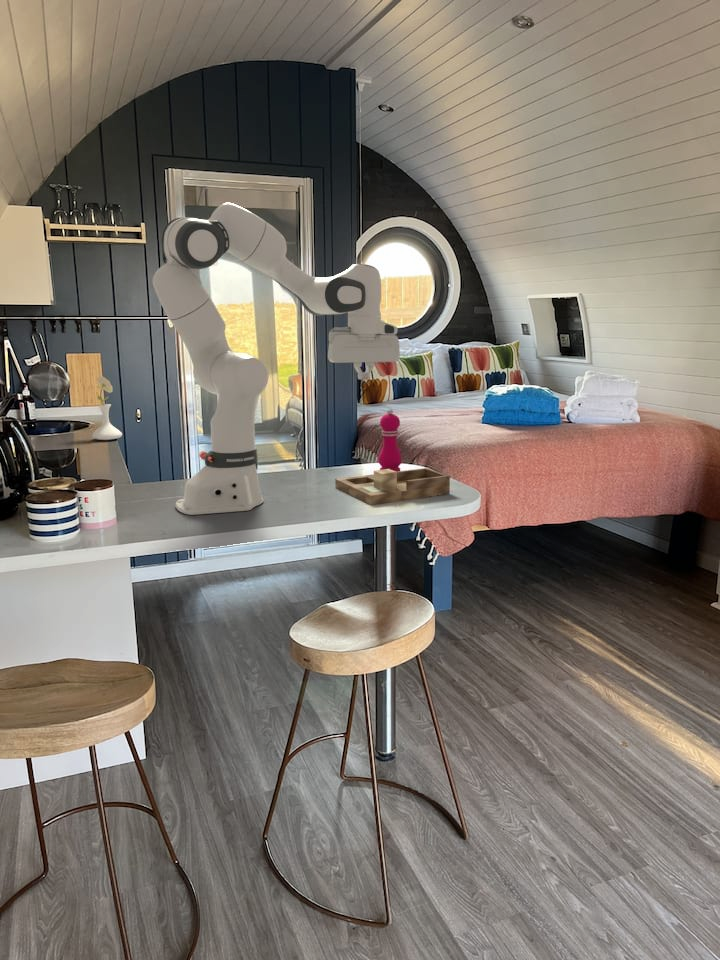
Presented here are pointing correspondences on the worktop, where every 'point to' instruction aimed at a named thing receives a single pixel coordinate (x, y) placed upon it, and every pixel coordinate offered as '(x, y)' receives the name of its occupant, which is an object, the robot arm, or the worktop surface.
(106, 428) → the flower in vase
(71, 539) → the worktop surface
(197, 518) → the worktop surface
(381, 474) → the maple block
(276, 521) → the worktop surface
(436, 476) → the board
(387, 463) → the pepper mill
